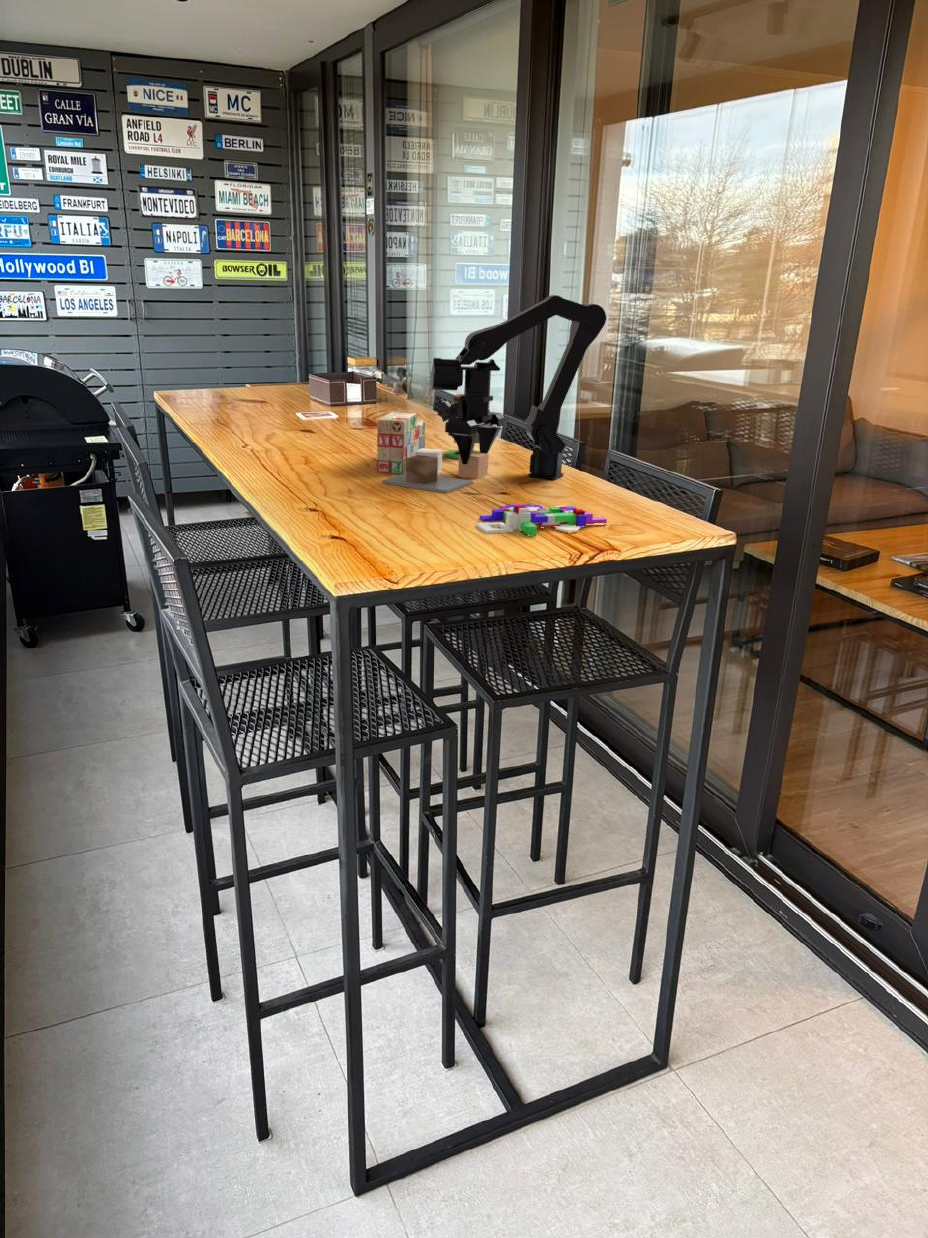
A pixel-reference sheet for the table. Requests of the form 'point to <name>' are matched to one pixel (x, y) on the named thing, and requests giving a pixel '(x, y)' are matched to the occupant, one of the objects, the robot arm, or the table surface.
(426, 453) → the offwhite brick
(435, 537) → the table surface
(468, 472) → the terracotta brick
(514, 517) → the building block set
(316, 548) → the table surface
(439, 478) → the plate
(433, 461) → the walnut brick
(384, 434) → the stack of blocks
